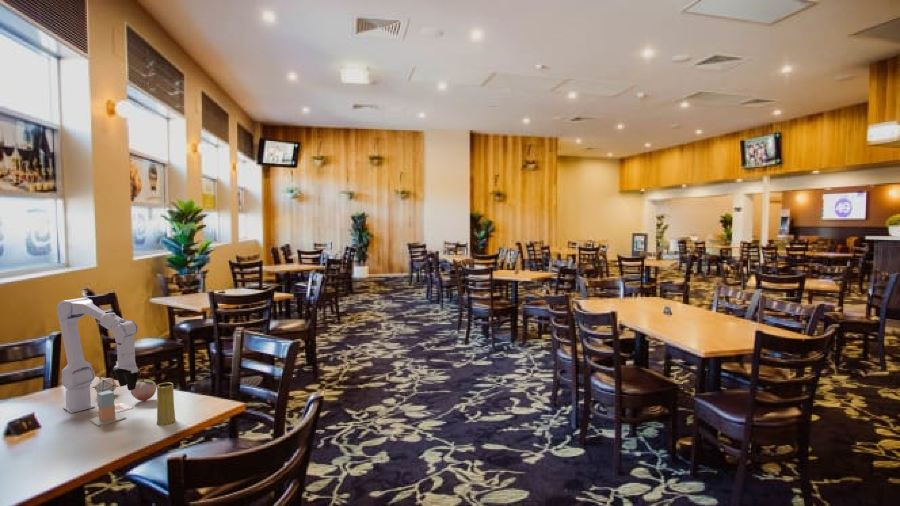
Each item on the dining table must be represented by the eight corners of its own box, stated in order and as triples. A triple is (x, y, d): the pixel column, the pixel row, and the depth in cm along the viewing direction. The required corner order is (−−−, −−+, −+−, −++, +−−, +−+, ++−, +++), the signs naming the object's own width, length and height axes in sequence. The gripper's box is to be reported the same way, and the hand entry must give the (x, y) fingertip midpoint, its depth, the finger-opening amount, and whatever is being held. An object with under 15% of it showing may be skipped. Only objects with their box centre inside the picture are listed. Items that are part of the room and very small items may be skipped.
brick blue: (97, 406, 187) (97, 393, 186) (109, 403, 190) (109, 390, 190) (101, 408, 184) (101, 395, 184) (114, 405, 188) (113, 392, 187)
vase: (179, 420, 188) (178, 383, 187) (165, 426, 182) (164, 388, 181) (167, 418, 190) (165, 381, 189) (152, 424, 184) (151, 386, 183)
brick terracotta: (111, 415, 191) (110, 402, 190) (115, 418, 188) (114, 405, 188) (99, 418, 187) (98, 405, 187) (103, 421, 185) (102, 408, 185)
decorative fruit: (161, 397, 212) (160, 374, 211) (150, 404, 203) (149, 380, 203) (139, 397, 212) (138, 374, 211) (127, 404, 203) (126, 380, 203)
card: (102, 408, 200) (102, 407, 200) (122, 402, 205) (122, 402, 205) (112, 413, 194) (112, 413, 194) (132, 408, 199) (132, 407, 199)
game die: (107, 405, 212) (101, 391, 206) (91, 397, 214) (85, 383, 208) (125, 389, 219) (120, 376, 213) (109, 381, 221) (104, 367, 214)
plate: (89, 420, 187) (89, 419, 187) (116, 413, 194) (116, 412, 194) (98, 426, 182) (98, 425, 182) (126, 418, 189) (126, 417, 189)
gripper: (106, 352, 193) (107, 386, 194) (122, 358, 185) (123, 394, 185) (126, 348, 199) (128, 382, 200) (143, 354, 190) (144, 389, 191)
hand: (127, 387), depth 193 cm, fingers open, 7 cm apart
